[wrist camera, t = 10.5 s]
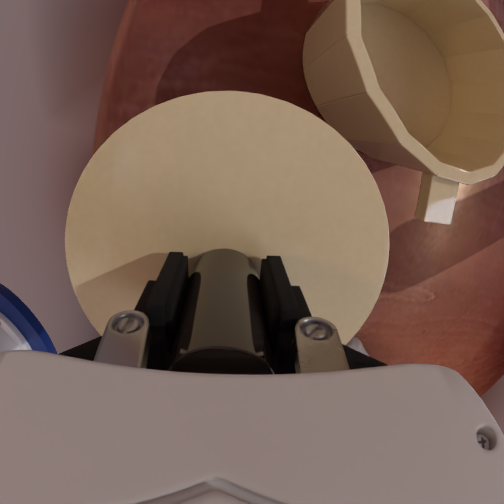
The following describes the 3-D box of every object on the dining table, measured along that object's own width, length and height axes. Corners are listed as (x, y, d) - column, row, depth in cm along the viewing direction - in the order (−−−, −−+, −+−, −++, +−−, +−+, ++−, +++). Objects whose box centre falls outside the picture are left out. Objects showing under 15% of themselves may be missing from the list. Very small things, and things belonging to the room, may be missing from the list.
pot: (291, 183, 20) (329, 215, 12) (305, -41, 12) (337, -97, 5) (441, 203, 22) (505, 236, 14) (448, 14, 14) (506, -3, 6)
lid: (105, 367, 16) (73, 455, 9) (67, 106, 10) (-47, 107, 3) (340, 375, 17) (374, 462, 11) (401, 122, 11) (519, 134, 4)
